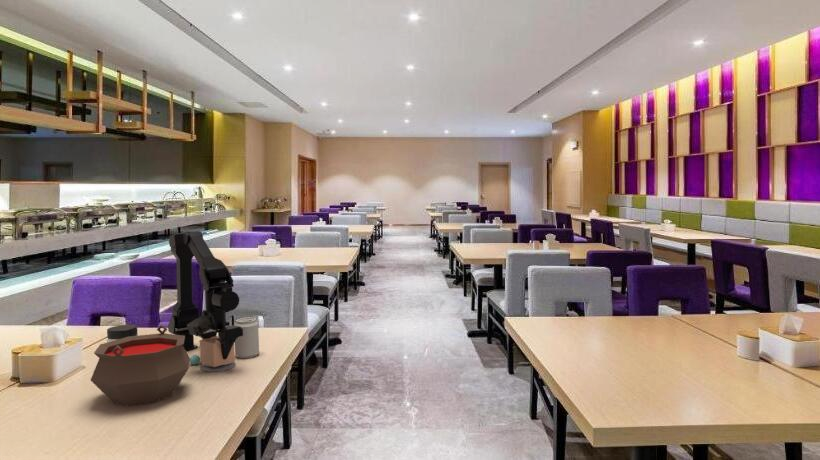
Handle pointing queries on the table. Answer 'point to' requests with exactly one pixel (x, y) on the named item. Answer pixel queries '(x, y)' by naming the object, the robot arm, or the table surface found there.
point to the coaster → (218, 368)
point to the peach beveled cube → (214, 352)
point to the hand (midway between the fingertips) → (217, 357)
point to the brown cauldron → (141, 367)
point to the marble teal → (194, 359)
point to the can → (247, 338)
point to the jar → (121, 332)
